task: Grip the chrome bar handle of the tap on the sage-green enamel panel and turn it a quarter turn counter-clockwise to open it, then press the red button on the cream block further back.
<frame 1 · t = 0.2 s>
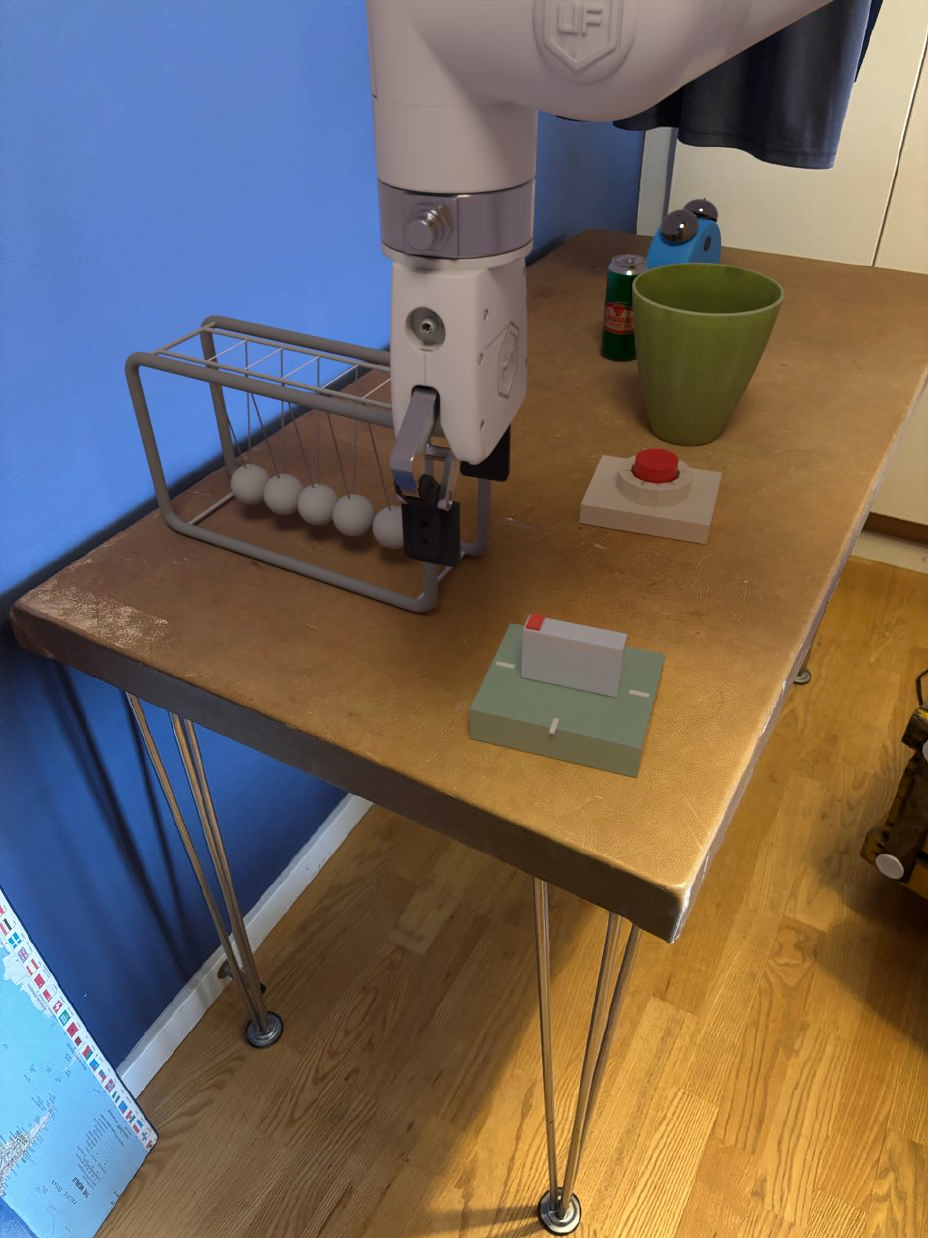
hand: (460, 515, 55), 18 cm above the table, tool pointing down, fingers open, 9 cm apart
tap handle: (573, 654, 64), point 5 cm above the table, hinge at 0.0°
flower pot: (684, 433, 101), on the table
button block: (650, 507, 89), on the table
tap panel: (568, 710, 67), on the table
newton's cradle: (323, 545, 85), on the table
start button: (655, 466, 86), point 4 cm above the table, slide at 0.1 cm
soda can: (619, 356, 118), on the table
alarm clock: (675, 319, 128), on the table
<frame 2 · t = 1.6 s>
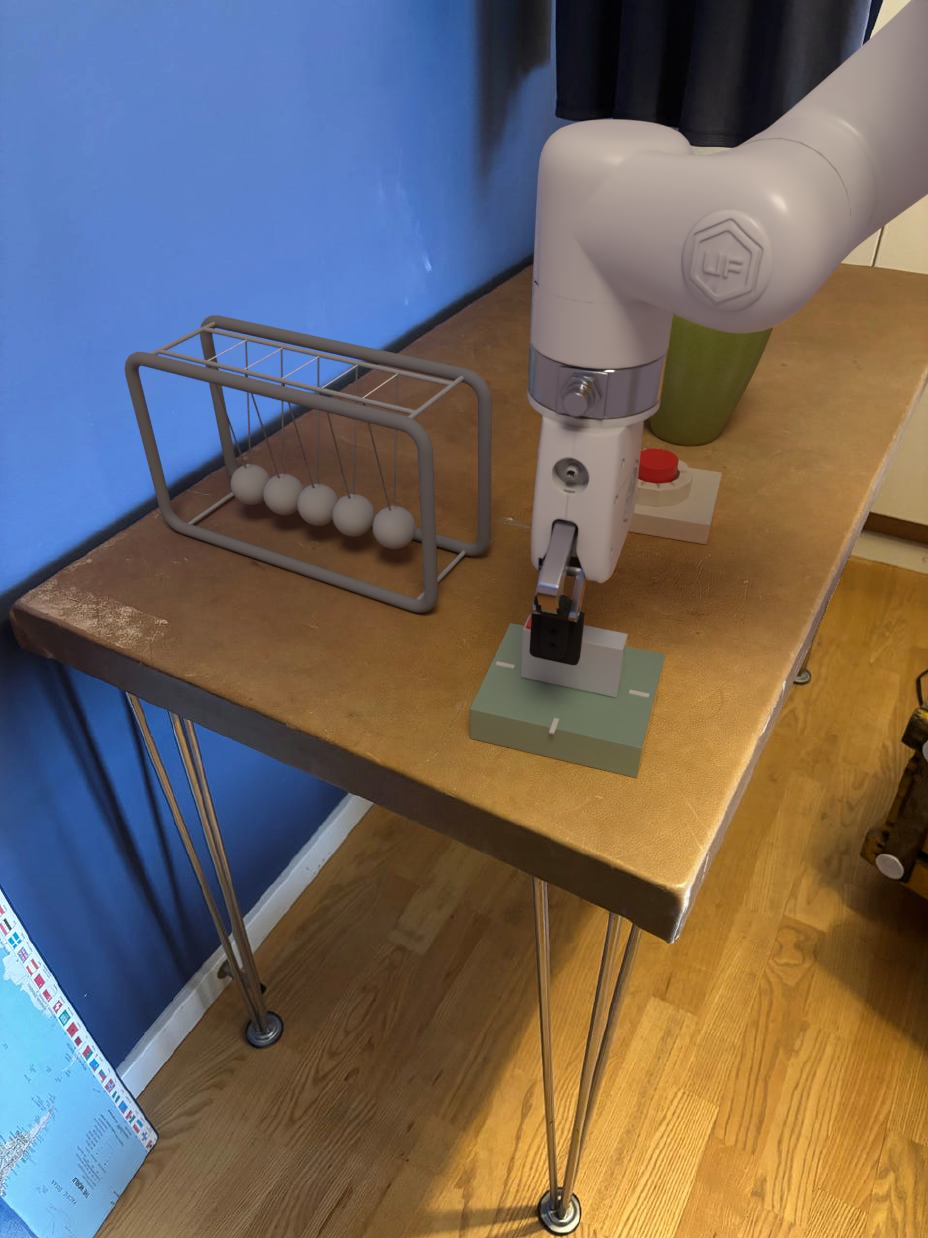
hand: (572, 613, 62), 9 cm above the table, tool pointing down, fingers open, 9 cm apart
nothing on the table moved.
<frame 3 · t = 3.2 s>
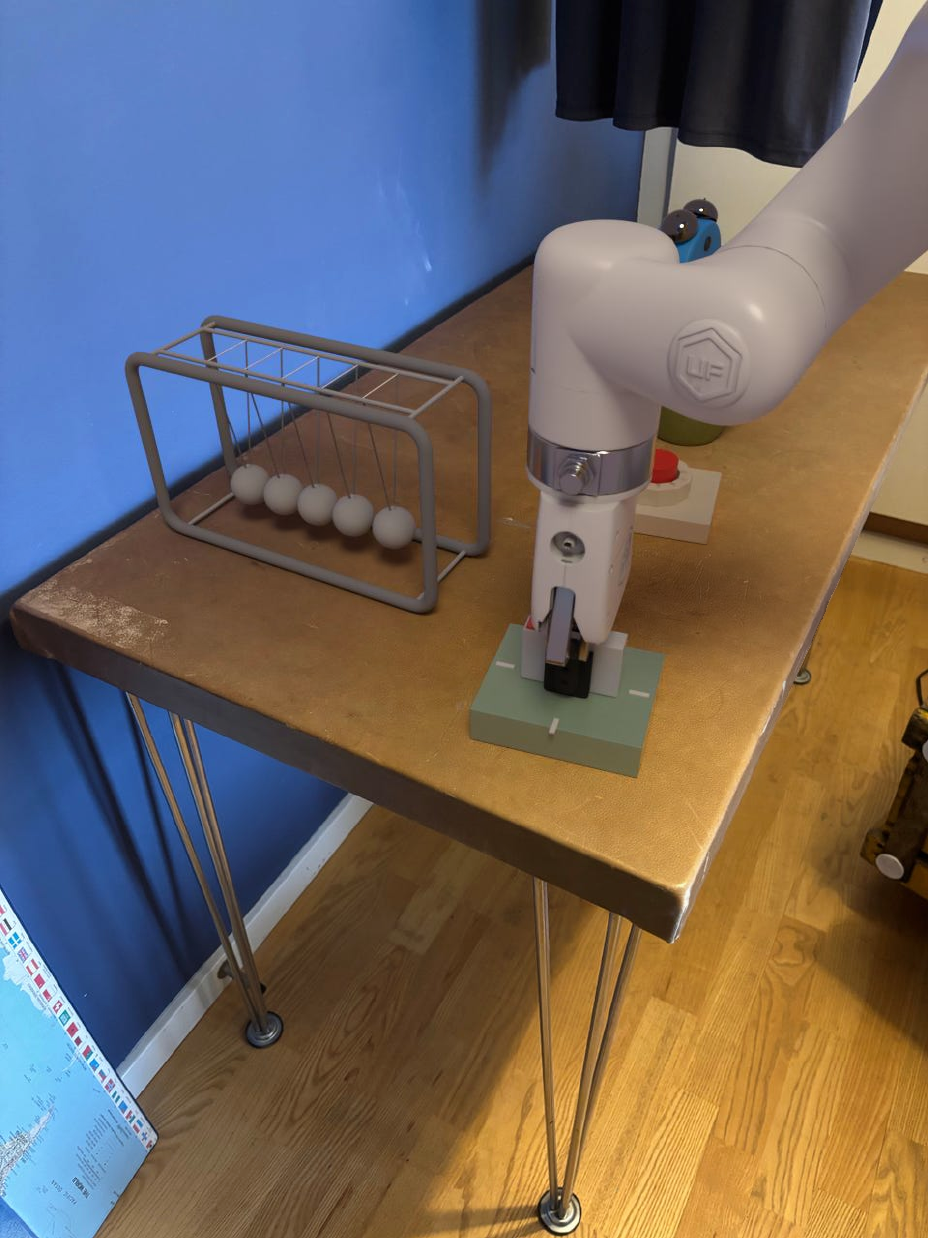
hand: (570, 678, 65), 3 cm above the table, tool pointing down, fingers closed
nothing on the table moved.
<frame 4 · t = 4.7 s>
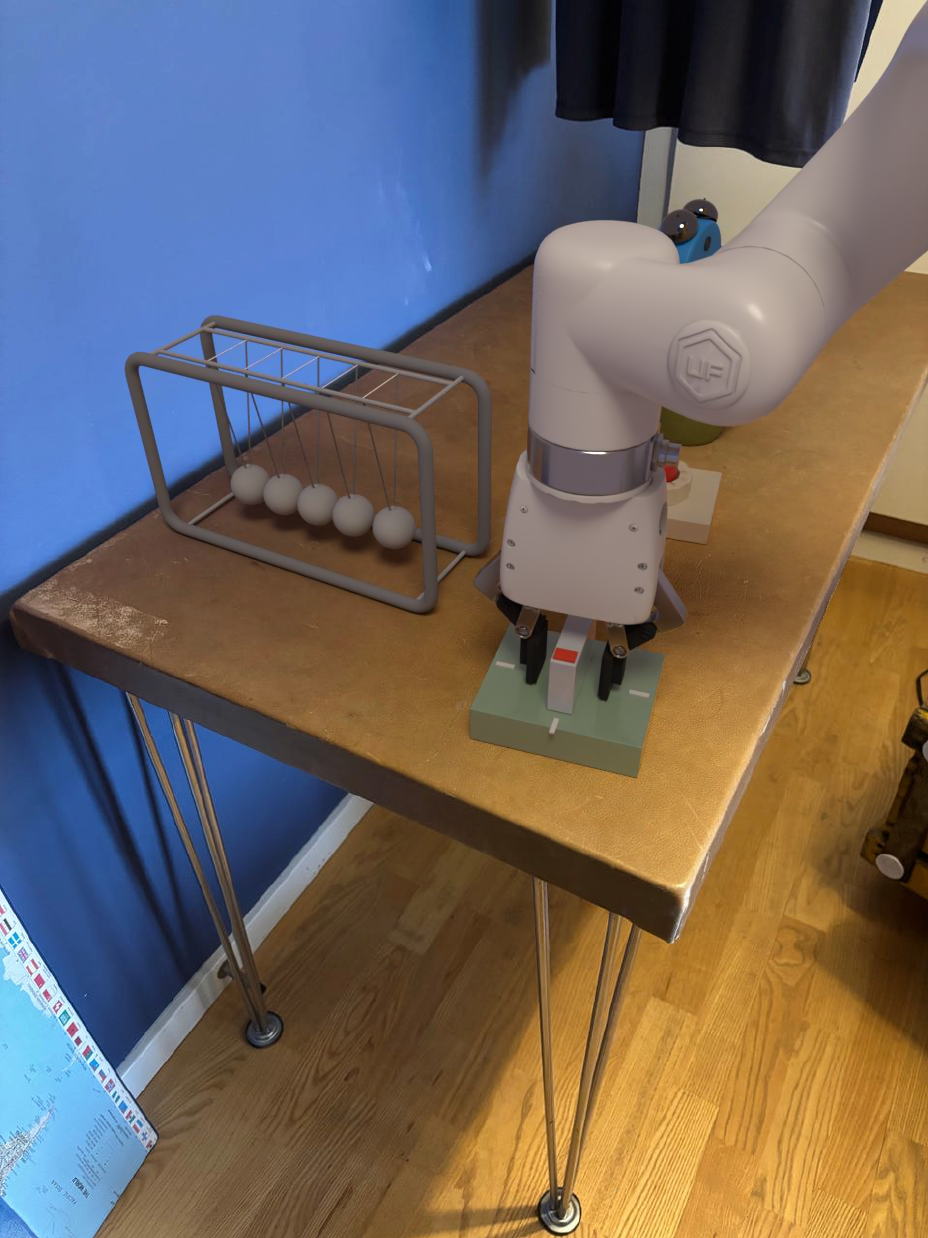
hand: (571, 676, 65), 3 cm above the table, tool pointing down, fingers open, 4 cm apart
tap handle: (573, 654, 64), point 5 cm above the table, hinge at 90.0°
everything else where it was.
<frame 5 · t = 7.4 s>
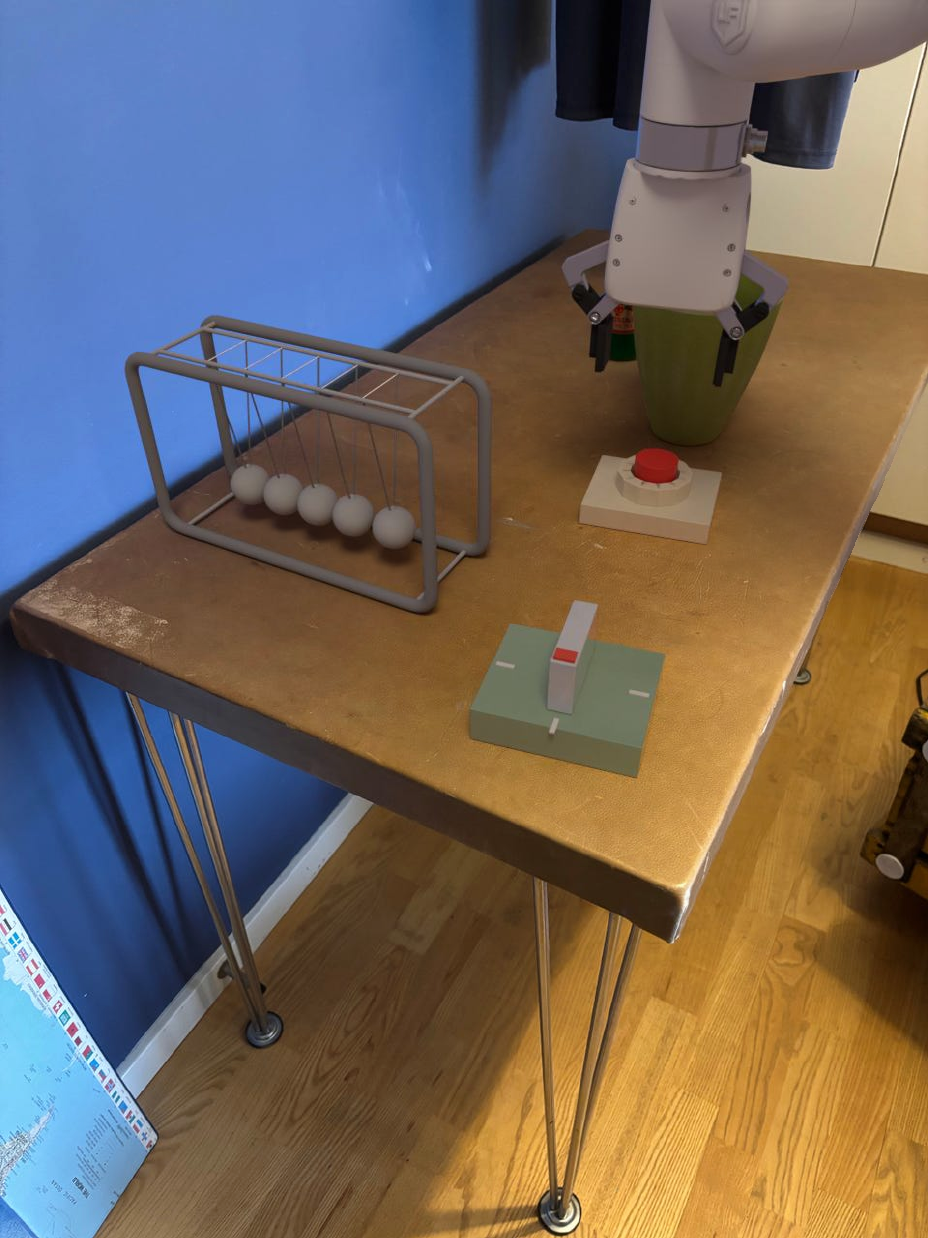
hand: (659, 372, 76), 16 cm above the table, tool pointing down, fingers open, 9 cm apart
nothing on the table moved.
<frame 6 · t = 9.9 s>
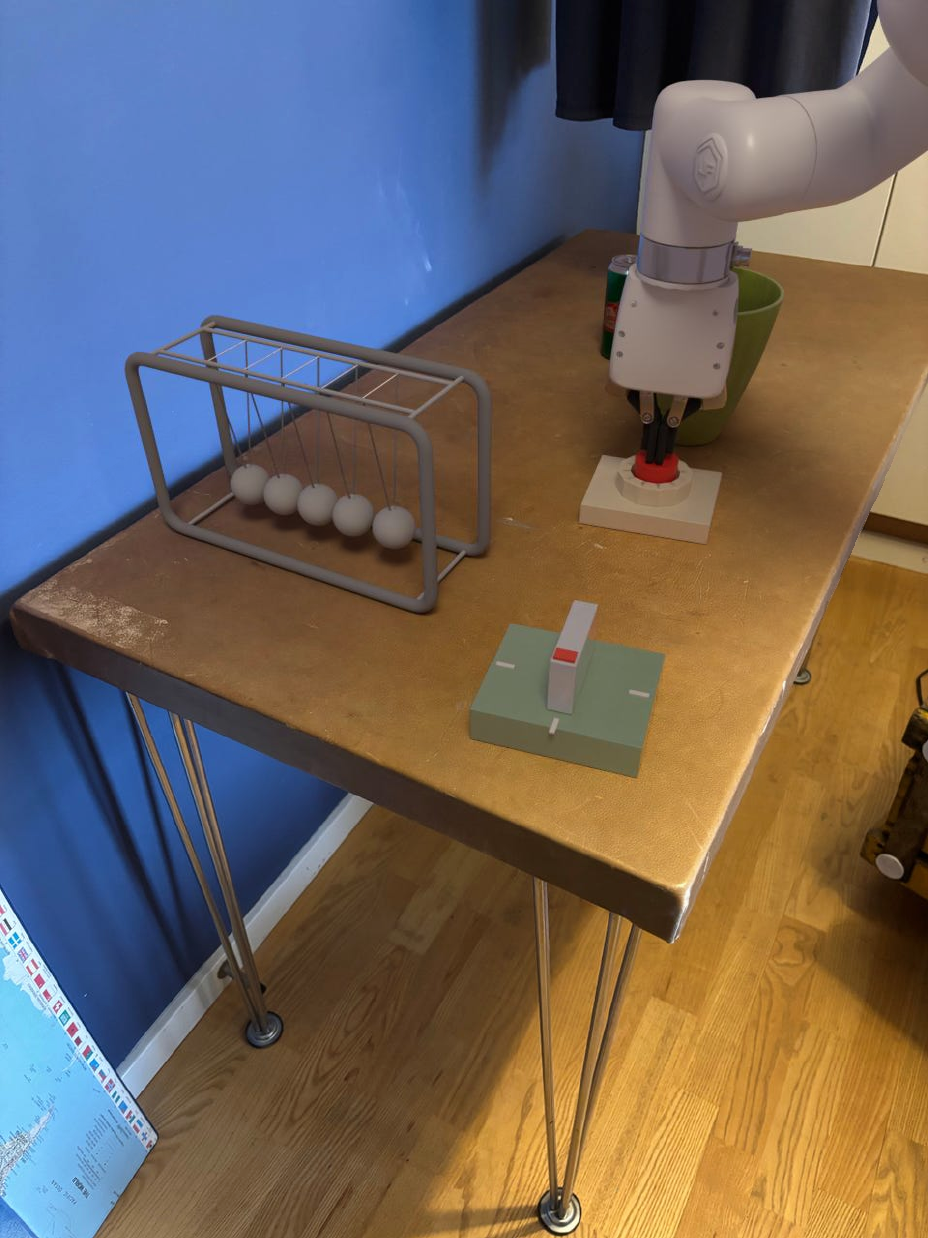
hand: (656, 457, 86), 5 cm above the table, tool pointing down, fingers closed
start button: (655, 466, 86), point 4 cm above the table, slide at 0.1 cm, touching gripper
everything else where it was.
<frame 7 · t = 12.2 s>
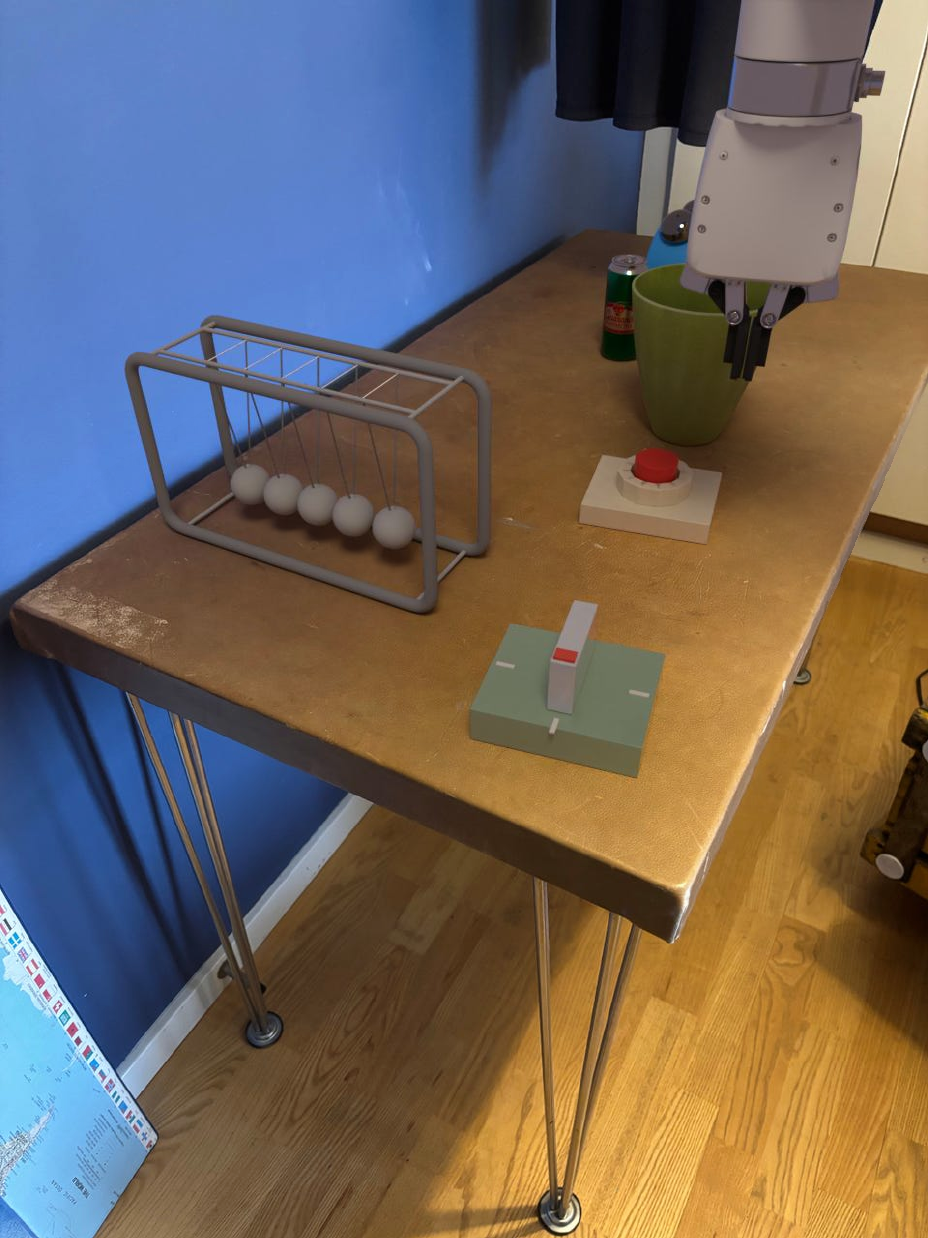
hand: (742, 372, 68), 19 cm above the table, tool pointing down, fingers closed
start button: (655, 466, 86), point 4 cm above the table, slide at 0.1 cm
everything else where it was.
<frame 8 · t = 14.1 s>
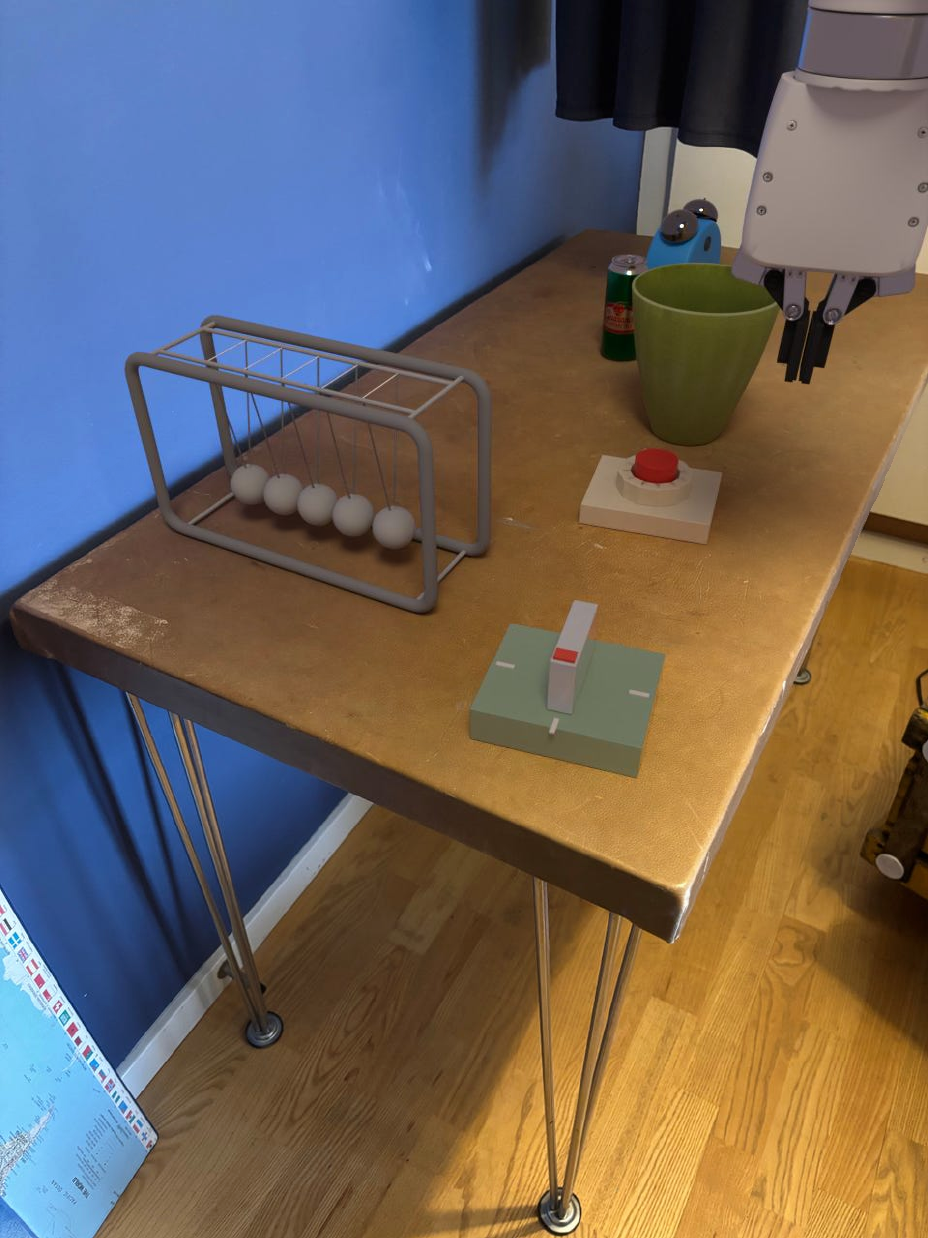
hand: (797, 374, 60), 22 cm above the table, tool pointing down, fingers closed
nothing on the table moved.
at the end: tap handle at +90° (first picture: +0°); start button pushed in 1.0 cm at the most during the clip, back to where it started at the end; start button slide at 0.1 cm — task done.
